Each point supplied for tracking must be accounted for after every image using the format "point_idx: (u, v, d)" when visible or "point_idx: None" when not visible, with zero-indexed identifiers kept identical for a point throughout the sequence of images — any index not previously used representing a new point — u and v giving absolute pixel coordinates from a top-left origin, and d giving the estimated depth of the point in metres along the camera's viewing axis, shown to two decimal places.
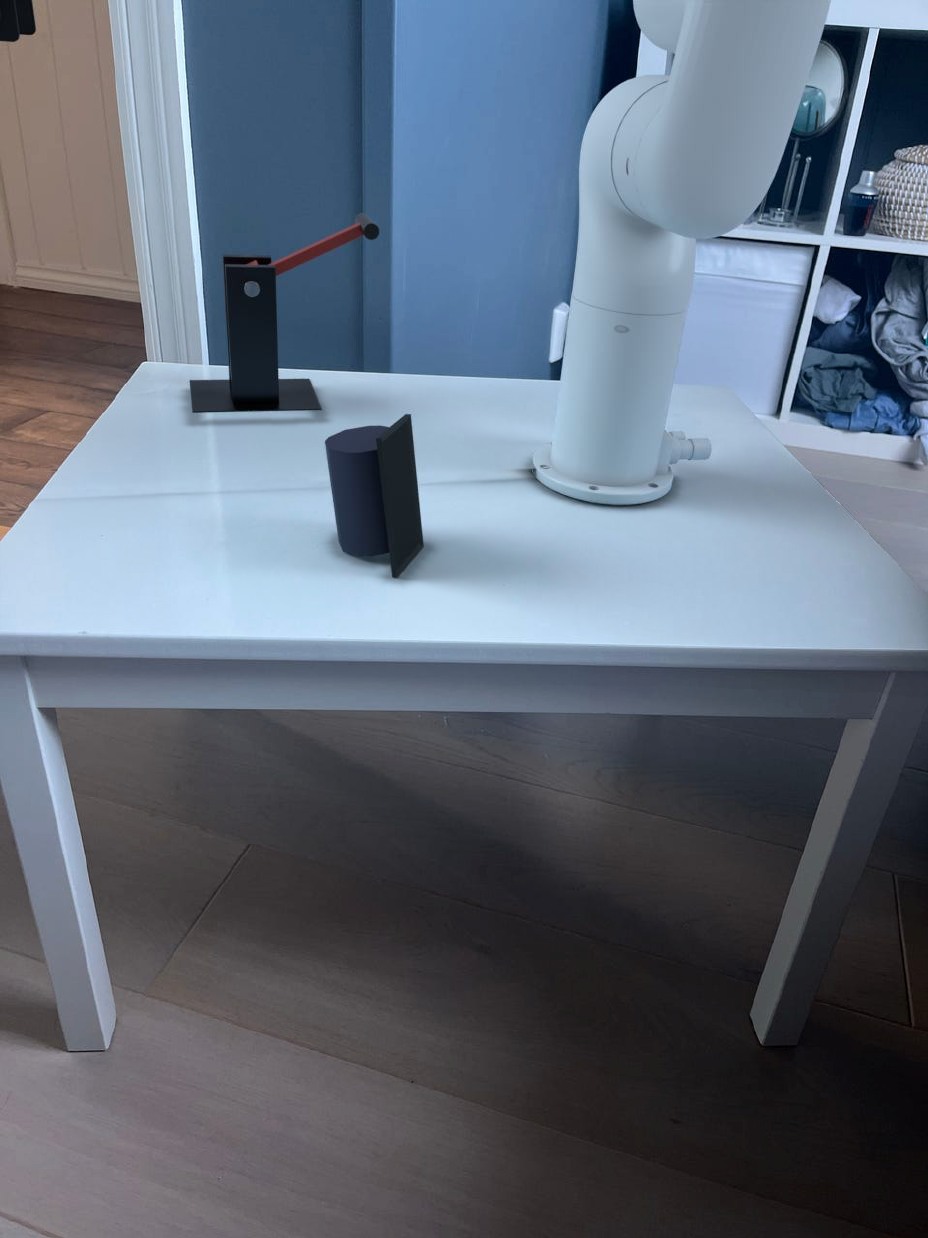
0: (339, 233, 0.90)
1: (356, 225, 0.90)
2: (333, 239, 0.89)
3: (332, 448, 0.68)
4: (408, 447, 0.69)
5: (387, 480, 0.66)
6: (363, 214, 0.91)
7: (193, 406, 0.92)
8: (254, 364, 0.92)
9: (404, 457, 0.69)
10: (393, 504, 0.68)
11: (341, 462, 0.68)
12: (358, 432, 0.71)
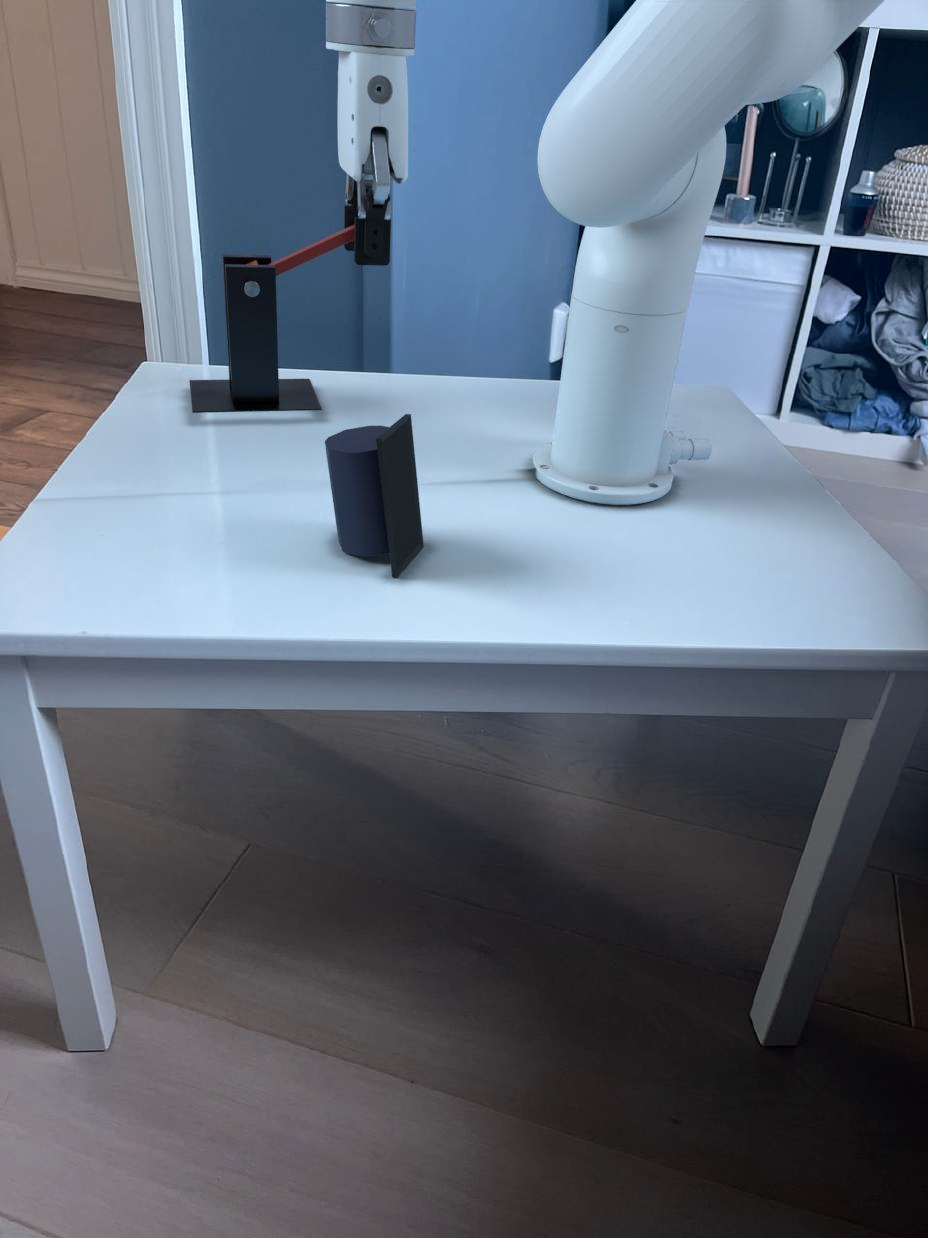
0: (339, 233, 0.90)
1: None
2: (333, 239, 0.89)
3: (332, 448, 0.68)
4: (408, 447, 0.69)
5: (387, 480, 0.66)
6: None
7: (193, 406, 0.92)
8: (254, 364, 0.92)
9: (404, 457, 0.69)
10: (393, 504, 0.68)
11: (341, 462, 0.68)
12: (358, 432, 0.71)
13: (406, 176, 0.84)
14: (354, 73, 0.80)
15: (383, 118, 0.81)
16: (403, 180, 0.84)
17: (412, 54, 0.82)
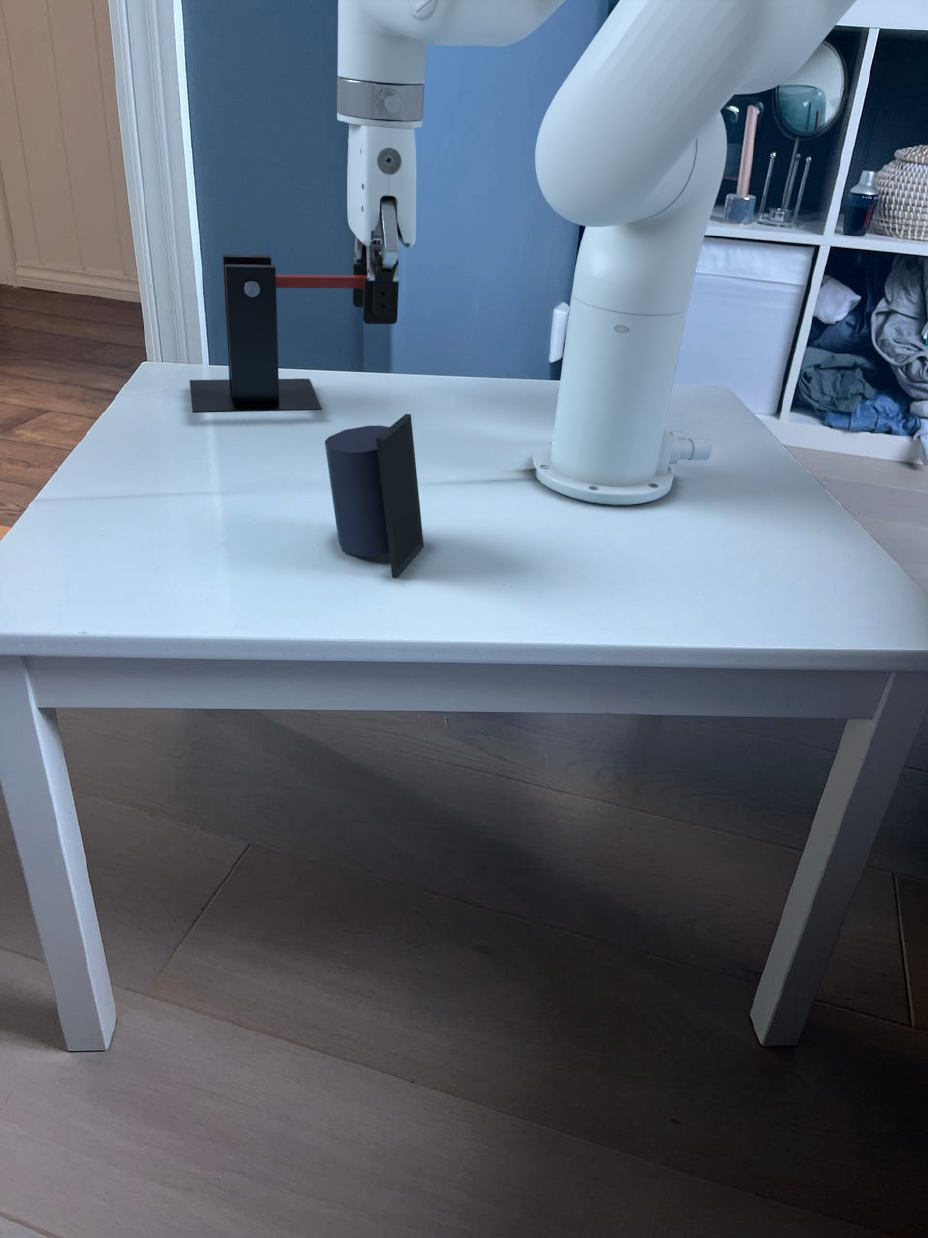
0: (350, 276, 0.92)
1: None
2: (343, 279, 0.92)
3: (332, 448, 0.68)
4: (408, 447, 0.69)
5: (387, 480, 0.66)
6: None
7: (193, 406, 0.92)
8: (254, 364, 0.92)
9: (404, 457, 0.69)
10: (393, 504, 0.68)
11: (341, 462, 0.68)
12: (358, 432, 0.71)
13: (413, 241, 0.87)
14: (364, 145, 0.83)
15: (392, 188, 0.84)
16: (411, 245, 0.88)
17: (420, 125, 0.85)
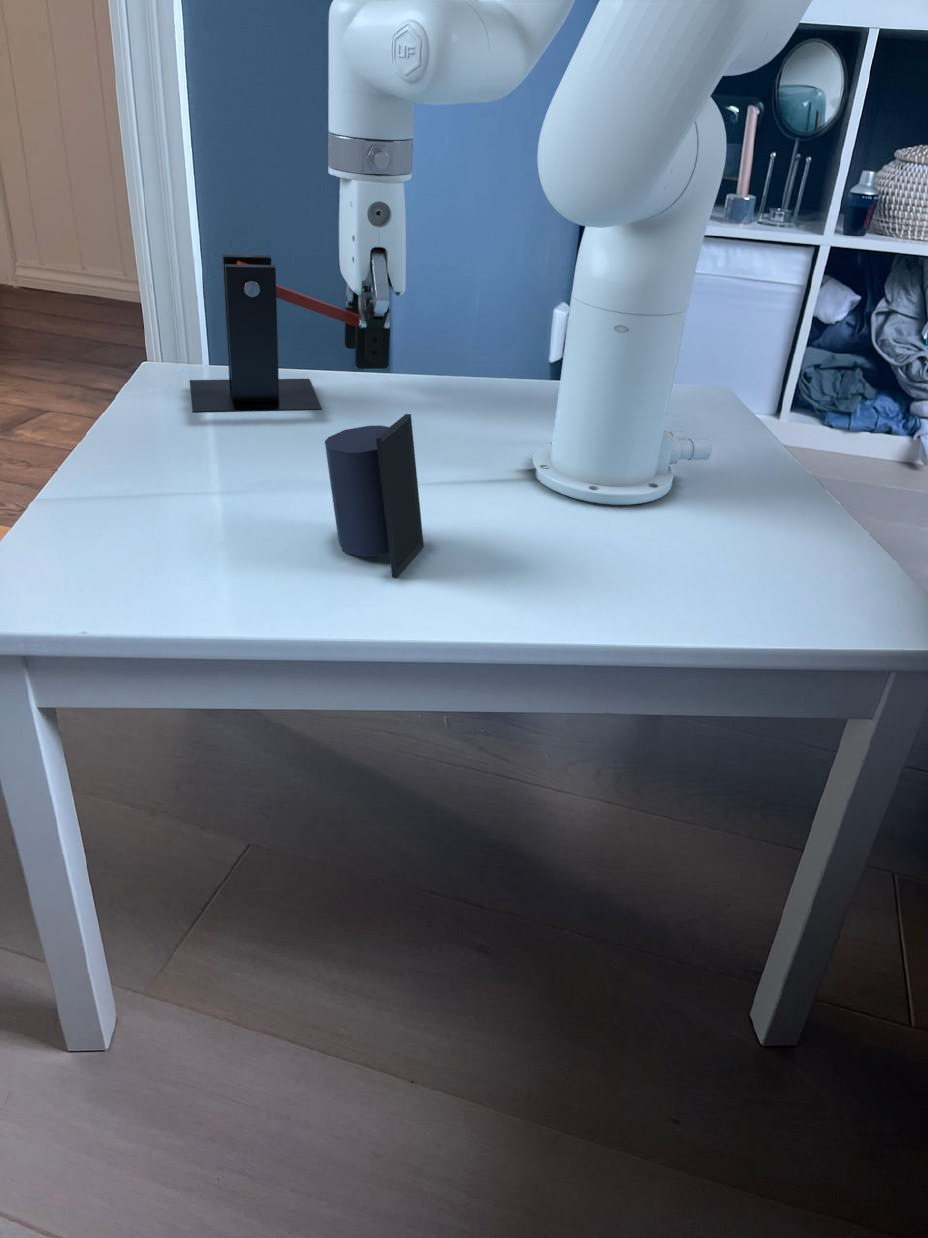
0: (346, 311, 0.94)
1: None
2: (338, 311, 0.93)
3: (332, 448, 0.68)
4: (408, 447, 0.69)
5: (387, 480, 0.66)
6: None
7: (193, 406, 0.92)
8: (254, 364, 0.92)
9: (404, 457, 0.69)
10: (393, 504, 0.68)
11: (341, 462, 0.68)
12: (358, 432, 0.71)
13: (403, 290, 0.89)
14: (355, 199, 0.85)
15: (382, 240, 0.86)
16: (401, 293, 0.90)
17: (409, 178, 0.87)
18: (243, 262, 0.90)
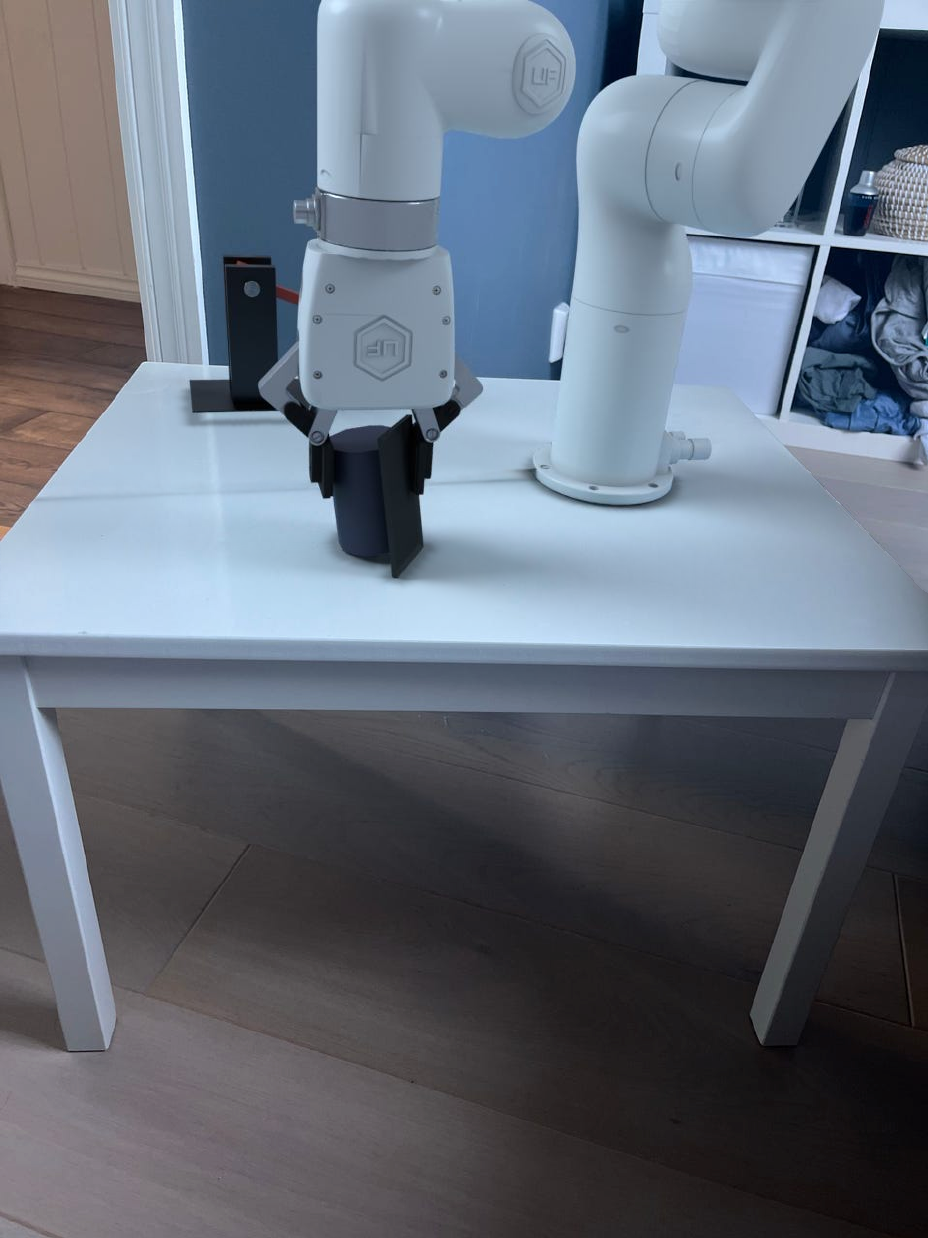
0: None
1: None
2: None
3: None
4: (409, 447, 0.69)
5: (388, 480, 0.66)
6: None
7: (193, 406, 0.92)
8: (254, 364, 0.92)
9: (405, 457, 0.69)
10: (394, 504, 0.68)
11: (342, 462, 0.68)
12: (359, 431, 0.71)
13: (308, 398, 0.63)
14: None
15: (298, 320, 0.62)
16: (309, 403, 0.63)
17: (357, 256, 0.58)
18: (243, 262, 0.90)
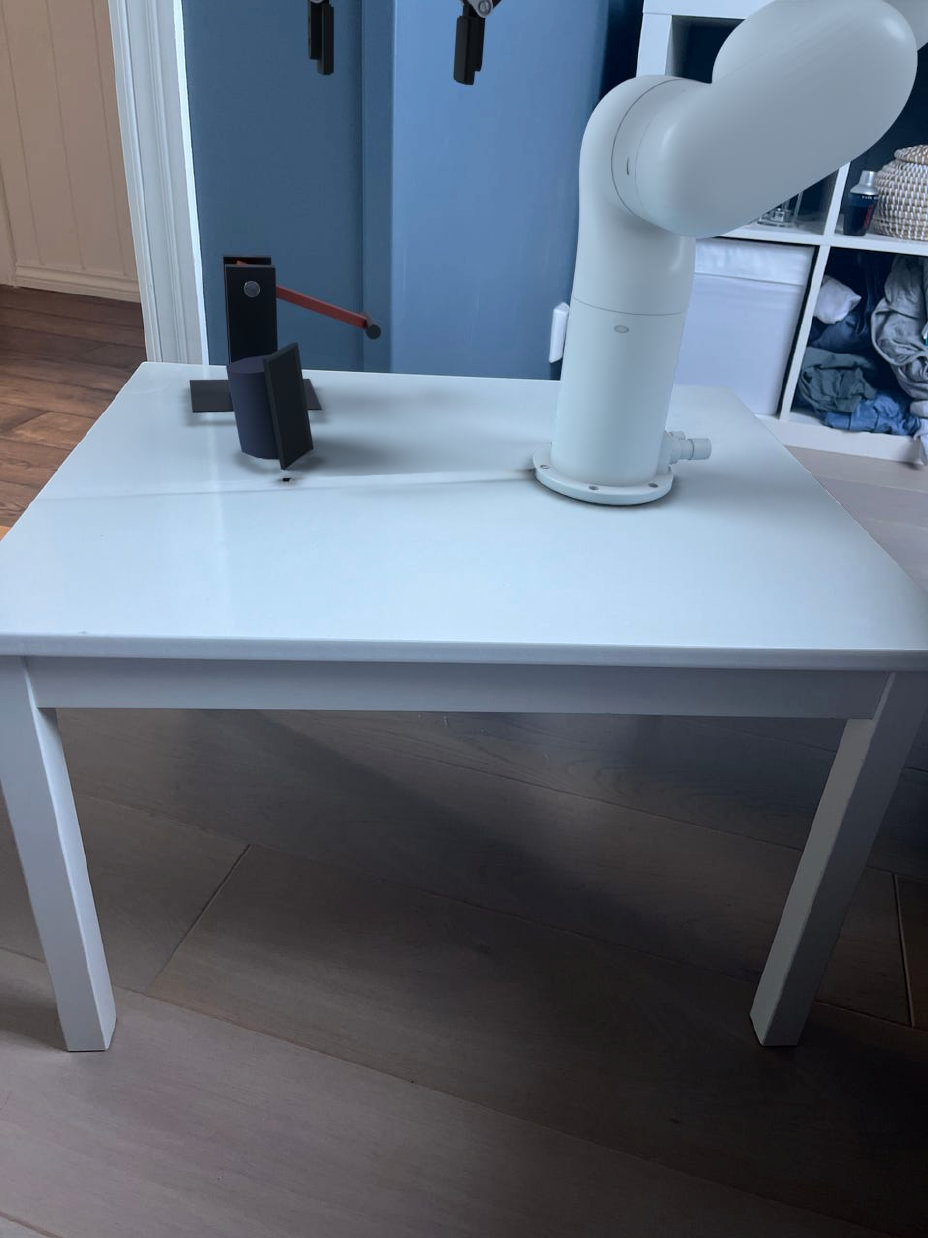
0: (346, 311, 0.94)
1: (362, 317, 0.94)
2: (338, 311, 0.93)
3: (230, 371, 0.80)
4: (296, 370, 0.81)
5: (274, 396, 0.78)
6: None
7: (193, 406, 0.92)
8: None
9: (292, 378, 0.81)
10: (281, 417, 0.80)
11: (238, 382, 0.80)
12: (256, 359, 0.83)
13: None
14: None
15: None
16: None
17: None
18: (243, 262, 0.90)
